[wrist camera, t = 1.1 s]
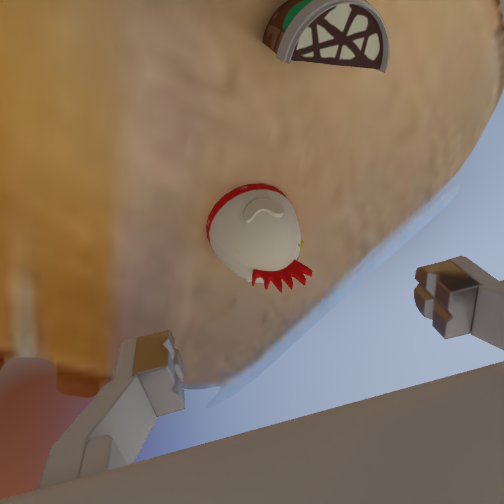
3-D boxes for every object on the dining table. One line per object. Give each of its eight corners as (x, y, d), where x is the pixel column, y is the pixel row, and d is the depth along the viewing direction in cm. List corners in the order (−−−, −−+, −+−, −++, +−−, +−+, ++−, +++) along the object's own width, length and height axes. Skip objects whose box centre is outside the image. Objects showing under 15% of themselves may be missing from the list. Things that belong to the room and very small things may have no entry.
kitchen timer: (287, 248, 66) (328, 310, 55) (210, 265, 62) (237, 336, 51) (293, 176, 57) (343, 234, 46) (202, 192, 53) (233, 259, 42)
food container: (358, -8, 44) (413, 4, 36) (342, 51, 47) (389, 73, 40) (258, -26, 39) (298, -17, 32) (250, 40, 43) (284, 62, 36)
